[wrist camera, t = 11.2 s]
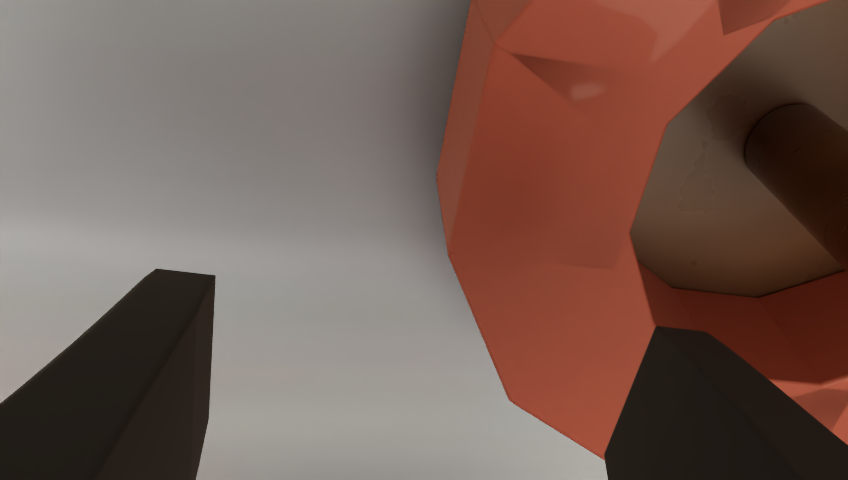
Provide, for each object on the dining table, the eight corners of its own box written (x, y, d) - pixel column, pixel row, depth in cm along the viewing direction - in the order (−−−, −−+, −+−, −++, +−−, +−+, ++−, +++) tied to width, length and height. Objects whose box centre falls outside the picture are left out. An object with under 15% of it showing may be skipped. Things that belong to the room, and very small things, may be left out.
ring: (919, 416, 18) (1000, 511, 16) (398, 365, 17) (402, 463, 14) (1306, -173, 12) (1534, -161, 10) (537, -346, 11) (586, -383, 8)
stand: (857, 305, 18) (1051, 517, 13) (523, 267, 17) (587, 481, 12) (1053, -54, 14) (1448, 43, 9) (632, -132, 13) (803, -74, 8)
